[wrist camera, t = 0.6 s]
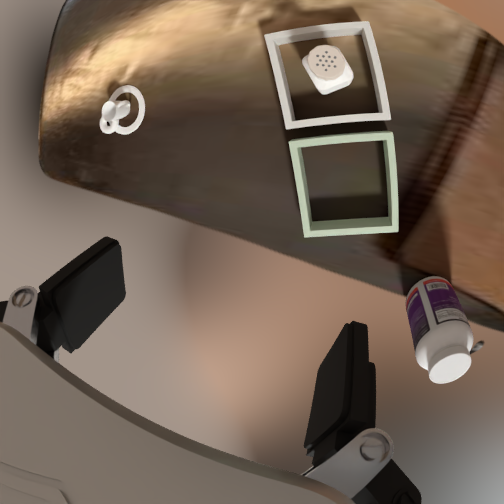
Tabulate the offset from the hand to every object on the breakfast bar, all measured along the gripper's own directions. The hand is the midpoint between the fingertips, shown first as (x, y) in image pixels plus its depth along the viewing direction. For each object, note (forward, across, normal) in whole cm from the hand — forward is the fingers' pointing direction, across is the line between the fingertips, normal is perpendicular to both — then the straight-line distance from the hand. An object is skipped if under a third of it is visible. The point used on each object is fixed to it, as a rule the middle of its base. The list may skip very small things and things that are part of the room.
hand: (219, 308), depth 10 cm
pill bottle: (+26, -24, +11) cm, 37 cm away
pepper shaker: (+27, -1, -12) cm, 29 cm away
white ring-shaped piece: (+27, +30, -5) cm, 41 cm away
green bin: (+26, -6, 0) cm, 27 cm away
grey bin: (+26, -1, -12) cm, 29 cm away
